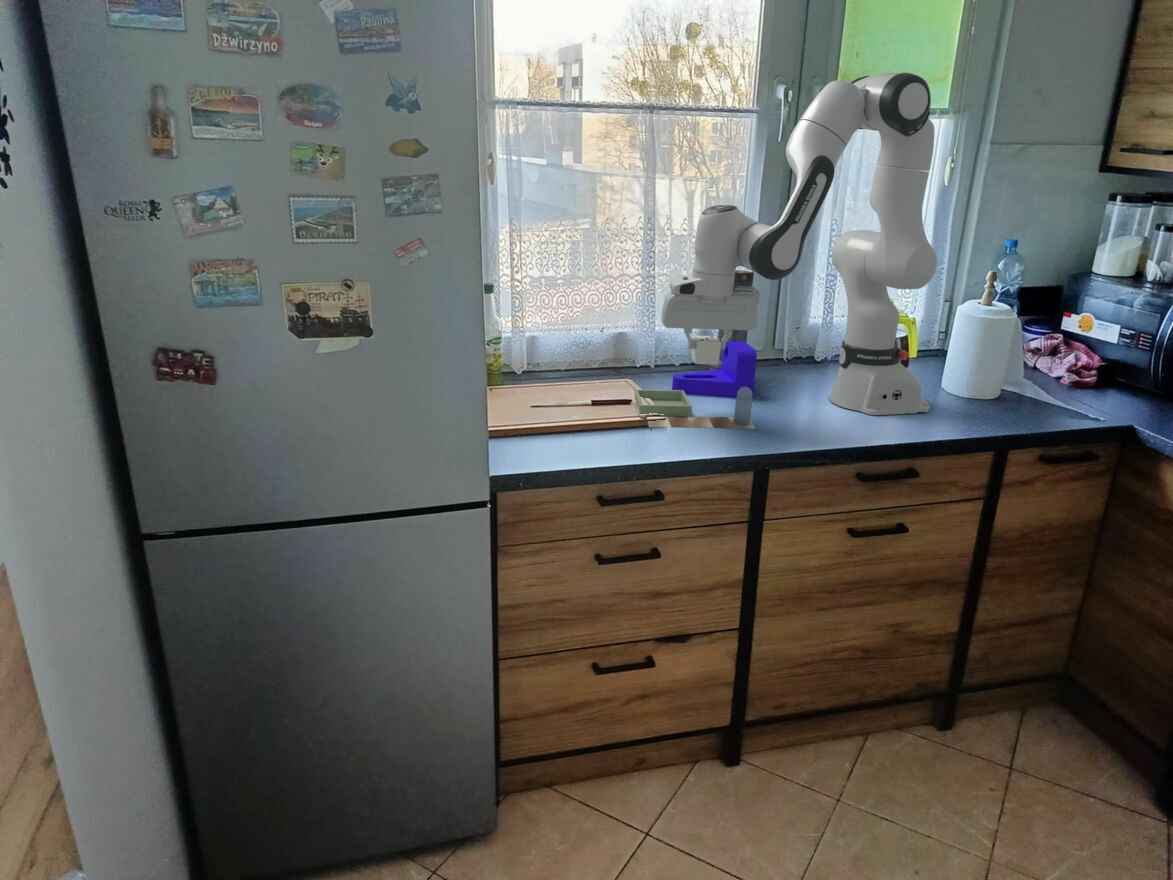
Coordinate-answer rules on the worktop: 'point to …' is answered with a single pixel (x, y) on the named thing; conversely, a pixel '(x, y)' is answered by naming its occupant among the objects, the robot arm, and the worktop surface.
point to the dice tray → (664, 402)
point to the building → (737, 335)
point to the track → (698, 422)
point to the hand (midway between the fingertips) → (706, 348)
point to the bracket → (722, 374)
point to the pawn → (743, 406)
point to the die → (706, 350)
